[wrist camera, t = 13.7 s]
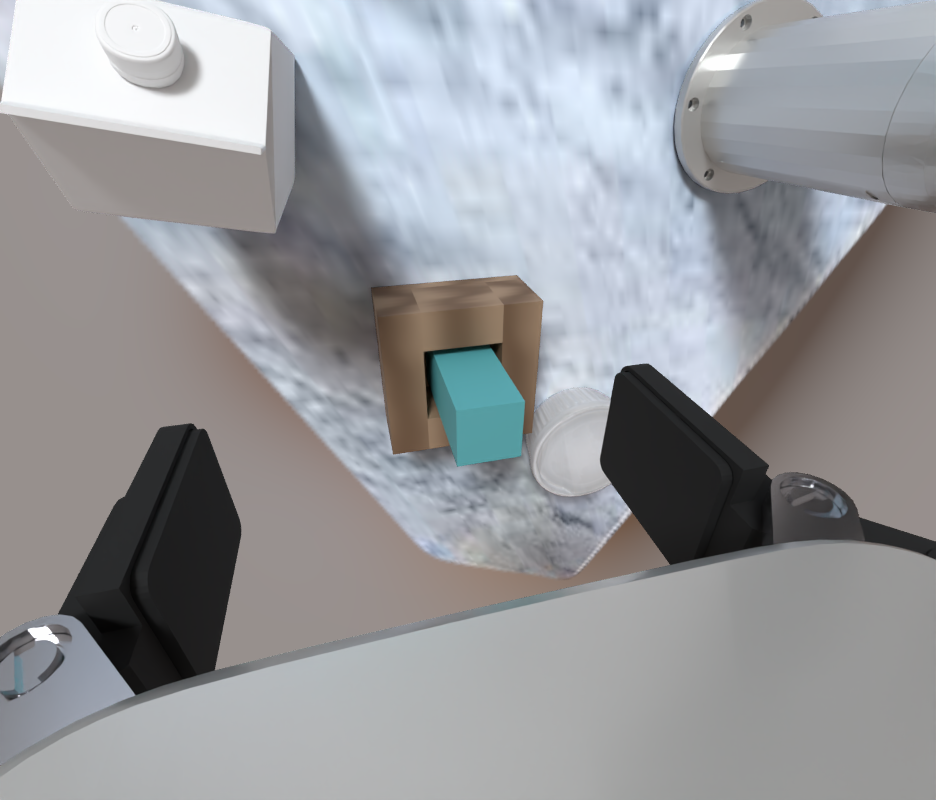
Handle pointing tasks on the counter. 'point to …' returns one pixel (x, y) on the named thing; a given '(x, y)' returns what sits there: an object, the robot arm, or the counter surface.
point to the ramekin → (569, 442)
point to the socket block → (451, 346)
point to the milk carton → (155, 110)
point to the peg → (476, 404)
